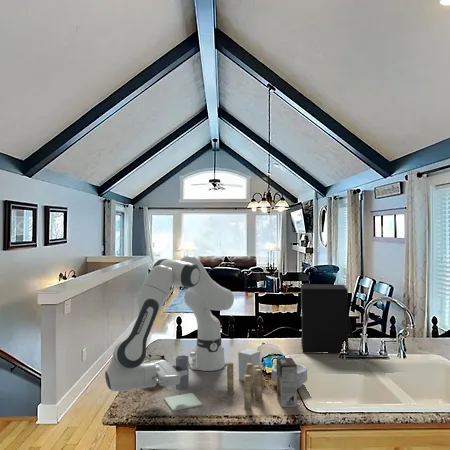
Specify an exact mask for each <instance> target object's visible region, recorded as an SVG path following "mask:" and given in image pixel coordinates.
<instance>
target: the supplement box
mask: <svg viewBox="0 0 450 450" xmlns="http://www.w3.org/2000/svg"><path fill="white" fill-rule="evenodd" d="M237 353H238V354H237V356H238V357H237V358H238V380H239V381H242V382H244V375H247V363H252V364H253V383H254V366H256V365H258V366H261V350H256V349H252V348H246V349H244V350H243V349H242V350H241V351H239V352H237Z"/></svg>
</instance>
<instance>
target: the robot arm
mask: <svg viewBox="0 0 450 450" xmlns="http://www.w3.org/2000/svg"><path fill="white" fill-rule="evenodd" d="M172 286H173V287H174V286H175V287H183V288H187V289H186V291H185V293H184V303H185V305H186V306H187V307H188V309H190V310H191V311H192V313H193V315H194V317H195V319H196V324H197V339H196V345H195V346H194V347H193V348H192V351H191V352H189V356H190V357H189V367H190V369H191V370H194V371H195V370H199V371H204V372H205V371H206V372H211V371H212V372H214V371H218V370H222V369H223V368H224V367H225V366H227V363H228V361H226V359H225V348H224V347H223V346H222V337H221V322H220V320H219V319H218V318H217V317H216V316H215V315H213V313H212V311H218V312H219V311H228V310H230V309H231V308H232V306H233V305H234V300H235V297H234V293H233V292H232V291H231V289H228V288H226V287H224V286H221V285H220V284H219V283H217V282H216V280H213V278H211V276H210V275H209V273H208V272H207V269H206V268H205V267H204V265H203V263H202V262H201V261H200V260H199V259H198V258H197V257H196V256H195V255H192V254H188V255H185V256H183V257H182V258H180V259H168V258H160V259H158V260H156V261H155V263H154V264H153V266H152V269H151V270H150V271H149V272H148V275H147V276H146V278H145V280H144V282H143V283H142V286H141V288H140V290H139V292H138V296H137V299H136V300H137V301H136V304H137V307H138V314H137V317H136V319H135V322H134V325H133V327H132V329H131V332H130V334H129V336H128V337H127V338H126V339H125V340H123V341H120V342H119V343H117V344H116V345H115V346H114V349H113V354H112V357H111V360H110V363H109V365H108V367H107V369H106V370H105V372H104V373H105V374H104V377H105V383H106V385H107V387H108V389H109V390H110V391H111V392H125V391H133V390H134V389H146V388H153V387H156V385H157V384H158V385H159V386H162V387H168V386H169V387H171V386H176V385H178V384H180V377H182V376H184V375H187V370H186V369H185V370H182V371H176V364H170V363H169V361H168V360H167V359H166V360H167V361H168V362H167V361H166V360H153V361H150V360H148V359H146V360H145V358H146V355H147V341H148V337H149V335H150V333H151V329H152V328H153V325H154V323H155V319H156V318H157V316H158V314H159V312H160V311H161V309H162V308H163V307H164V304H165V302H166V300H167V298H168V295H169V293H170V292H171V291H170V290H171V288H172Z"/></svg>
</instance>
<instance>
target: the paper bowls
mask: <svg viewBox="0 0 450 450" xmlns="http://www.w3.org/2000/svg"><path fill="white" fill-rule="evenodd" d="M296 365H297V390H298V389H300V388H301V387H302V386H303V384H304V383H306V382H308V368H307V367H306V366H305V365H303V364H299V363H296ZM271 380H272V381H273V382H274V383H276V384H277V363H276V364H273V365H272V366H271Z"/></svg>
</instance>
